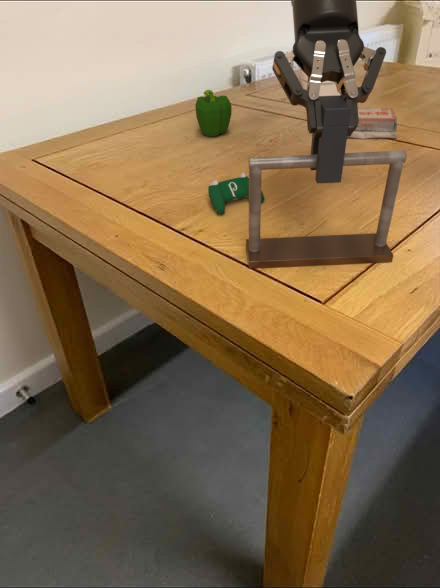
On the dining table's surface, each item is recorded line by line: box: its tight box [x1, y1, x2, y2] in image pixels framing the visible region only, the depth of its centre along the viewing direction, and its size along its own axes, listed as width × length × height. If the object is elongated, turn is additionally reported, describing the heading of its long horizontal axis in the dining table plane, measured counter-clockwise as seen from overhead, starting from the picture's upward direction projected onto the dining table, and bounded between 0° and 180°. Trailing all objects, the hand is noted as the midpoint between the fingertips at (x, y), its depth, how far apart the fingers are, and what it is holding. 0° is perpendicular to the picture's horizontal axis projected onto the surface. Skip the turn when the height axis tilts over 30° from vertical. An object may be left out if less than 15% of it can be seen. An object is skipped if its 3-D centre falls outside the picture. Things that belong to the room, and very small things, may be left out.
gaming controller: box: [207, 172, 266, 215], centre depth 80 cm, size 9×4×6 cm
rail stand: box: [245, 149, 407, 270], centre depth 63 cm, size 20×6×15 cm, turn 92°
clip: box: [309, 95, 351, 185], centre depth 57 cm, size 5×3×9 cm, turn 2°
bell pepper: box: [194, 89, 232, 138], centre depth 106 cm, size 8×8×10 cm
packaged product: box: [349, 106, 398, 140], centre depth 105 cm, size 18×5×10 cm
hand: (333, 133), depth 55 cm, fingers closed on clip, 3 cm apart
